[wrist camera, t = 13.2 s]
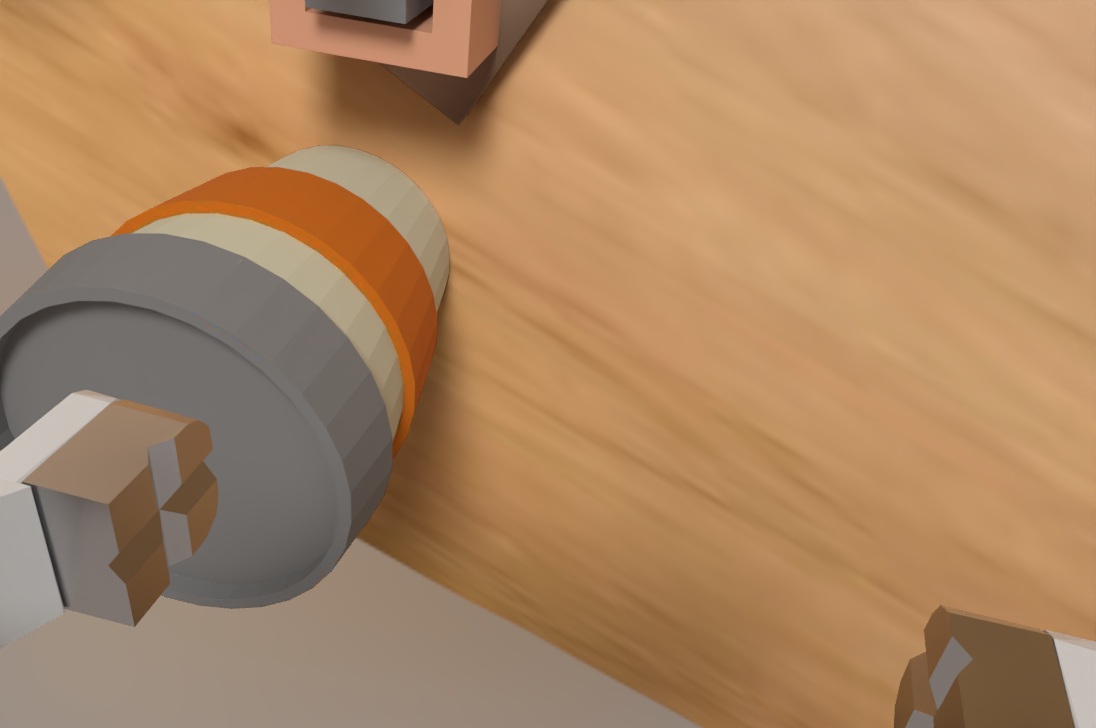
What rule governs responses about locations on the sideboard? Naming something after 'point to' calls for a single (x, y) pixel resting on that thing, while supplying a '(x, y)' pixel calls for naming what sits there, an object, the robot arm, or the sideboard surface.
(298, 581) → the reusable coffee cup
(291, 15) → the pink square socket block
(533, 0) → the base
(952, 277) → the sideboard surface
